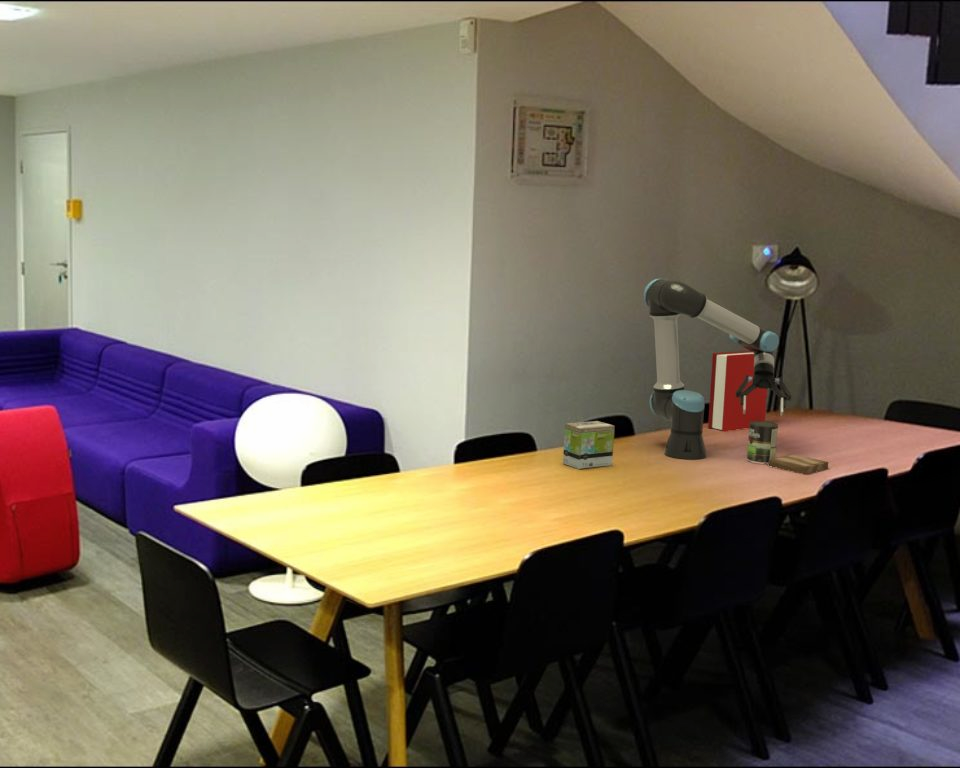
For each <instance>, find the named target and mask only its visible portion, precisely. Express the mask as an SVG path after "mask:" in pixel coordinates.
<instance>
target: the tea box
mask: <svg viewBox="0 0 960 768" xmlns="http://www.w3.org/2000/svg"><path fill="white" fill-rule="evenodd" d="M564 425H565V427H564V439H563V455H562V464H563V465H565V466H566V465H567V466H569V467H572V468H575V469H577V470H583V469H587V468H598V467H611V466H612V465H613V458H614V457H613V455H614V444H615V443H614V442H615V440H614V439H615V425H613V424H610V423H606V422H603V421H602V422H601V421H599V420H594V421H583V422H571V423H565V424H564ZM610 465H611V466H610Z"/></svg>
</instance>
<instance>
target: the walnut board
mask: <svg viewBox="0 0 960 768" xmlns="http://www.w3.org/2000/svg"><path fill="white" fill-rule="evenodd" d="M768 465H769V466H772V467H771V468H773V467H777V468H781V469H780V470H782V469H785V470H784V471H786V470H789V471H788V472H791V471H794V472H793V473H796V472H799V473H798V474H800V473H803V474H802V475H805V474H806V475H809V473H810V474H813V473H812V472H814V473H817V472H816V471H818V472H821V471H825V470H828V469H829V461H825V460H822V459H821V460H820V459H817V458H811V457H806V456H801V455H797V454H787V455H783V456H779V457H775V458H774V459H770V460H769V463H768V464H767V466H768ZM777 468H776V469H777Z"/></svg>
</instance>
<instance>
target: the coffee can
mask: <svg viewBox="0 0 960 768" xmlns="http://www.w3.org/2000/svg"><path fill="white" fill-rule="evenodd" d="M778 429H779V423H776V422H774V421H773V422H772V421H766V420H765V421H751V422H749V428H748V439H747V440H748V442H747V451H746V453H747V455H746V461H747V460H748V461H747V462H749V461H751V462H759V463H769V460H770V459H774V458H776V453H777V442H778V441H777V440H778V431H779V430H778ZM751 462H750V463H751Z"/></svg>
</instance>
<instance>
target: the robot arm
mask: <svg viewBox="0 0 960 768" xmlns="http://www.w3.org/2000/svg"><path fill="white" fill-rule="evenodd" d="M643 300H644V303H645V304H646V305H647V306H648V307H649V309H648V310H649V317H650V318H651V319H653V324H654V325H653V326H654V343H655V360H656V363H655V365H656V382H655V384H653V392H652V393H651V394H650V396H649V407H650V410H651V412H652V413H653V414H654V415H655V416H656V417H658V418H659V419H662V420H664V421H667V422H669V423H670V434H669V436H668V439H667V441H666V444H665V446H664V455H665V456H666V457H667V456H668V457H670V458H675V459H683V460H699V459H703V458H705V457H707V456H706V455H707V449H706V446H705V441H704V437H703V429H704V428H703V427H704V415H705V414H704V413H705V398H704V396H703V395H702V394H701V393H699V392H697V391H692V390H688V389H687V390H686V388H685V384H684V383H683V382H682V381H681V377H680V376H681V375H680V370H681V369H680V353H679V351H680V350H679V332H678V331H679V329H678V328H679V327H678V318H679V316H681V315H685V316H687V317H689V318H692V319H696V318H698V319H699V320H701V321H703V322H705V323H708V324H710V325H711V326H713V327H715V328H717V329H719V330H721V331H722V332H724V333H726V334H729V339H730V340H731V341H733V342H734V343H735V344H738V345H740V346H741V347H743V348H745V349H747V351H751V352H753V353H754V376H753V377H749V375H746V376H745V380H744V381H743V383H742V384H741V386H740V387H739V388H738V390H737V391H736V397H739V398H740V405H743V414H745V410H746V396H747V395H748V394H749V393H751V392H752V391H753V390H755V389H756V388H757V387H758V388H764V389H767V390H768V389H769V390H770V391H772V392H773V393H774V394H775V395H776V396H777V397H778V398H779V399H780V407H779V408H780V410H779V411H780V412H779V413H780V417H783V415H784V409H785V408H787V401H791V400H792V394H791V393H790V390H789V389H788V387H787V385H785V382H784V380H783V377H782V376H779V378H778V377H777V378H776V377H775V351H776V350H777V348H778V346H779V344H780V340H779V336H778V334H777V333H775V332H773V331H771V330H766V329H764V328H762V327H760V326H758V325H757V324H755V323H753V322H751V321H749V320H747V319H745V318H744V317H742V316H740V315H738V314H736V313H734V312H733V311H730V310H729V309H726V308H725V307H722V306H721V305H719V304H717V303H716V302H713V301H711V300H710V299H708V297H707V295H706V294H704V293H703V292H701V291H699V290H697V289H696V288H695V287H692V286H690V285H689V284H687V283H685V282H684V281H681V280H674V279H670V278H663V277H661V278H656V279H653V280H651V281H650V282H648V284H647V285H646V286H645V288H644V291H643ZM750 381H753V384H752V385H750V386H749V387H748V388H747V389H746V390H744V388H745V387H746V386H747V384H748V383H749V382H750ZM776 384H777V385H778V386H779V387H777V385H776ZM779 388H780V389H779ZM743 390H744V391H743ZM742 391H743V392H742Z"/></svg>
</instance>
